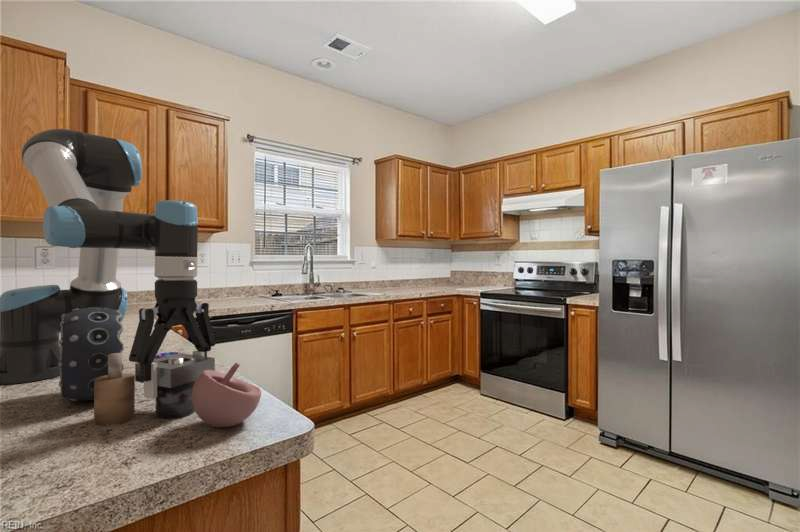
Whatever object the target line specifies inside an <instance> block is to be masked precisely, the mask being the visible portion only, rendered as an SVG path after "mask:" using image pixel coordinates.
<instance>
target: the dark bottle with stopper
mask: <svg viewBox="0 0 800 532" xmlns="http://www.w3.org/2000/svg"><path fill="white" fill-rule="evenodd" d="M182 362H184V357H172V358H169V359H168V364H178V363H182ZM194 384H195V381H192V382H189V383H186V384H183V385H179V386H176V387H173V388H167V387H162V386H157V398H155V418H156V419H159V420H177V419H181V418H184V417H188V416H190V415H193V414H194V412H195V410H194V407H193V404H192V391H193V387H194ZM195 413H196V412H195Z"/></svg>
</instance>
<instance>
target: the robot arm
mask: <svg viewBox="0 0 800 532" xmlns="http://www.w3.org/2000/svg"><path fill="white" fill-rule="evenodd" d="M21 159H22V163H23V165H24V167H25V169H26V170H27V172H28V173H29V174H31V176H33V177H35V178H36V180H37V183H38V185H39V187H40V189H41V192H42V195H43V197H44V198H45V201H46V203H47V205H48V207H47V208H46V209H45V211H44V213H43V218H42V219H43V220H42V232H43V239H44V241H45V242H46V244H48V245H50V246H53V247H62V248H69V249H79V248H80V250H79V251H80V252H79V261H78V273H77V277H76V278H74V279H72V280H71V281H70V283H69V285H70V286H69V289H61V287H60V285H58V284H47V285H46V284H45V285H35V286H26V287H20V288H15V289H10V290H5V291H4V292H2V294H0V385H6V384H7V385H8V384H11V385H12V384H22V383H30V382H37V381H42V380H47V379H51V378H55V377H58V376H59V377H60V367H59V366H58V363H59V362H60V344H59V340H60V334H61V326H60V323H61V322H62V318H61V316H62V315H63V314H67V313H70V312H71V311H72V310H74V309H84V308H93V307H98V308H109V309H113V310H117V311H119V312H121V314H122V318H121V319H120V323H121V324H122V321H124V318H125V316H126V313H127V309H128V303H129V302H128V293H127V290H126V289H125V288H123V287H122V284H121V282H120V281H119V280H118V279H117V278H116V277H117V269H118V257H119V250H121V249H124V250H127V249H128V250H144V251H154V277H156V278H157V279H155V281H154V299H155V300H156V302H155V305H154V307H151V308H149V307H148V308H145V307H142V308H139V310H138V318H139V321H138V324H137V325H138V326H137V328H136V332H135V336H134V337H133V343H132V346H131V349H130V354H129V357H128V360H129V362H132V363H139V364H140V379H141V381H144V383H143V397H145V398H148V399H156V398H157V363H153V361H154V359H155V357H156V355H157V354H159V353H158V352H159V351H160V348H161V347H162V344H163V343H164V340H165V339H166V336H167V334H168V332H169V331H170V330H172V328H173V327H176V326H179V325H180V326H183V328H184V329H185V332H186V333H187V335H188V336H189V338H190V341H191V342H192V344H193V346H194V347H195V349H196V350H192V355H197V356H205V357H208V352H210V351H211V350H212V347H214V346H215V345H216V341H215V336H214V331H213V327H212V323H211V319H210V316H209V309H210V308H209V307H210V304H209V303H207V302H197V301H196V298H197V296H198V280H196V279H195V278H196V277H197V276H198V236H199V233H198V232H199V231H198V230H199V227H198V226H199V219H198V218H199V217H198V207H197V205H195V204H194V203H192V202H190V201H182V200H172V199H171V200H170V199H168V200H158V201H157V202H156V203H155V208H154V213H153V214H151V213H142V212H140V213H139V212H128V211H127V212H126V211H124V201H125V200H124V198H126V197H127V196H129V195H130V194H131V193H132V187H137V186H139V185H140V184H141V180H142V179H143V164H142V160H141V155H140V152H139V150H138V148H137V147H136V146H135V145H134V144H133V143H131V142H128V141H125V140H121V139H117V138H113V137H107V136H102V135H97V134H92V133H87V132H83V131H77V130H76V131H75V130H73V129H68V128H52V129H47V130H46V129H45V130H42V131H40V132H37V133H35V134H34V135H32V136H31V137H29V138H28V139H27V140H26V142H25V143H24V144H23V146H22V148H21ZM194 313H195V315H194ZM156 318H157V319H156ZM155 319H156V321H155ZM154 322H155V323H154ZM153 327H154V328H153ZM195 382H196V381H195Z"/></svg>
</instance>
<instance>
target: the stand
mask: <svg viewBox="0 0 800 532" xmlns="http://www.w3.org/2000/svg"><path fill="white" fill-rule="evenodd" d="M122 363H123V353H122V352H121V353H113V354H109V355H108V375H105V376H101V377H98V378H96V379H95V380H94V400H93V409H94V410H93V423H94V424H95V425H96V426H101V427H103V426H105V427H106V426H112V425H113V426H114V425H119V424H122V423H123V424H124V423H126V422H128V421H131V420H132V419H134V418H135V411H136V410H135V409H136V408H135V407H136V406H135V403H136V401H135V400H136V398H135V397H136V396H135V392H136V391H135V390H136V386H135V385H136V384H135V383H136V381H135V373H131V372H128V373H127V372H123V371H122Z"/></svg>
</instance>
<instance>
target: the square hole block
mask: <svg viewBox="0 0 800 532" xmlns="http://www.w3.org/2000/svg"><path fill="white" fill-rule="evenodd" d="M178 353H179V354H175V355H170V356H166V357H161V358H157V359H154V361H153V363H157V386H162V387H167V388H173V387H176V386H179V385H183V384H186V383H189V382H192V381H196V380H197V379H198V377H199V376H200V375H201V373H202V372H203V371H204V370H213V371H216V368H215V367H216V364H215V360H216V359H215V357H209V356H207V357H205V356H197V355H193V354H189V353H183V352H181V353H180V352H178ZM172 357H184V362H182V363H178V364H168V359H169V358H172ZM134 363H135V365H134V366H135V367H134V368H135V369H134V375H135V383H141V384H144V381H141V379H140V364H139V363H137V362H134Z"/></svg>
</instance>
